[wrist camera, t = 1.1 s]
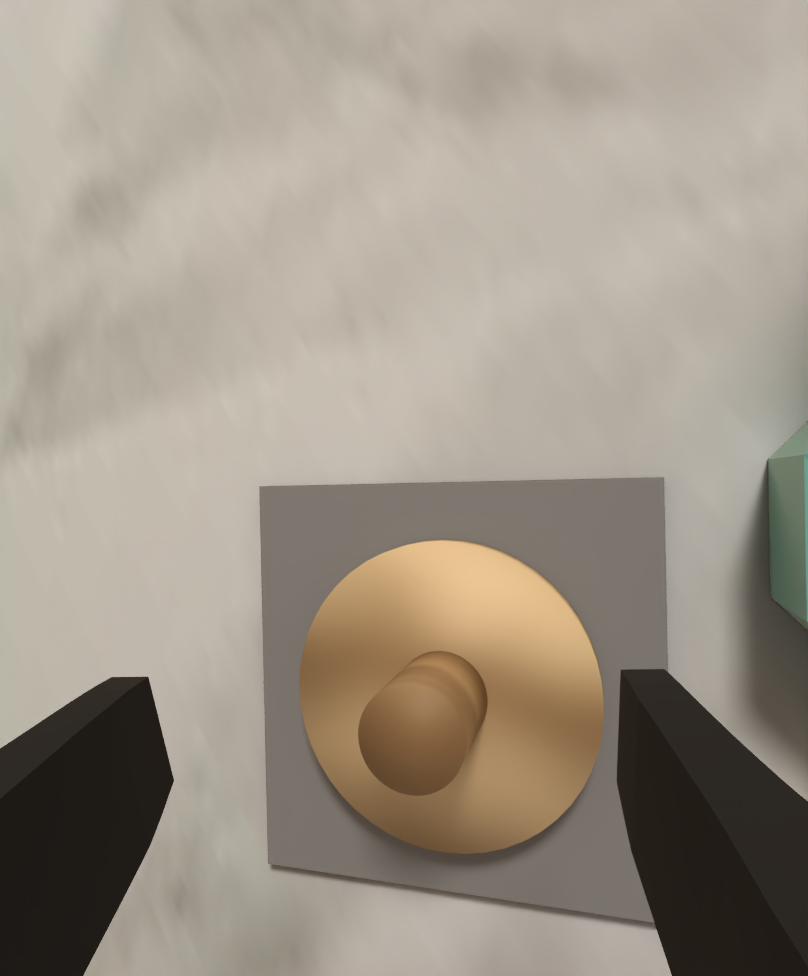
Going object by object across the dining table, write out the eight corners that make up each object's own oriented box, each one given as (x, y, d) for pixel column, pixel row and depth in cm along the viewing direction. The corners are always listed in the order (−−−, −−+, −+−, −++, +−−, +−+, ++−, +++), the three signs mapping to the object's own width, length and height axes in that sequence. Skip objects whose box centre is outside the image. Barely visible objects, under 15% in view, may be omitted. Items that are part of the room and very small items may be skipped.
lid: (607, 855, 20) (609, 958, 15) (315, 818, 22) (247, 898, 18) (599, 539, 20) (600, 554, 15) (308, 539, 22) (239, 552, 18)
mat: (671, 917, 20) (673, 925, 19) (273, 857, 23) (268, 863, 23) (662, 477, 20) (663, 477, 19) (265, 486, 23) (259, 486, 23)
